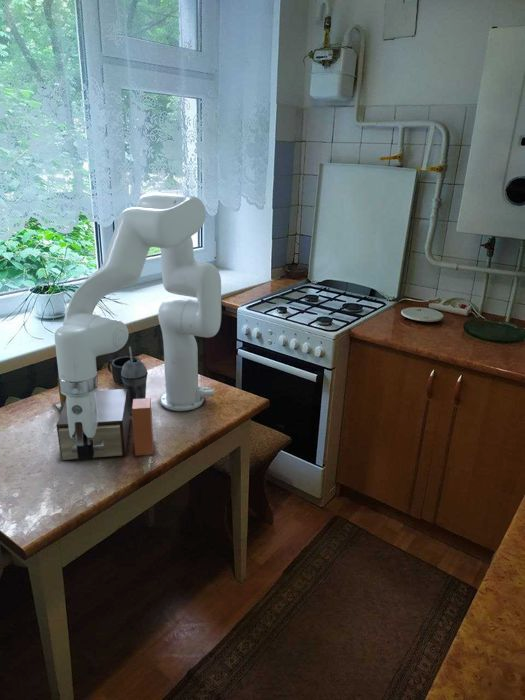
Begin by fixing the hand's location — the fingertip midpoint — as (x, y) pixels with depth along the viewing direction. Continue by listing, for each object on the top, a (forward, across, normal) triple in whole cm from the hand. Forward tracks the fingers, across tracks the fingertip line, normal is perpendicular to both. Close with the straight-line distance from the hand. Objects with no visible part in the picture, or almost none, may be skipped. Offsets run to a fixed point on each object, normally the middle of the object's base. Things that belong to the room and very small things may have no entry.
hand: (86, 457), depth 111 cm
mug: (+4, +50, -5) cm, 50 cm away
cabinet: (+5, +16, 0) cm, 16 cm away
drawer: (+4, +12, 0) cm, 12 cm away
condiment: (+5, +34, +8) cm, 35 cm away
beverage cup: (+4, +30, -10) cm, 31 cm away
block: (+5, +9, -12) cm, 16 cm away
